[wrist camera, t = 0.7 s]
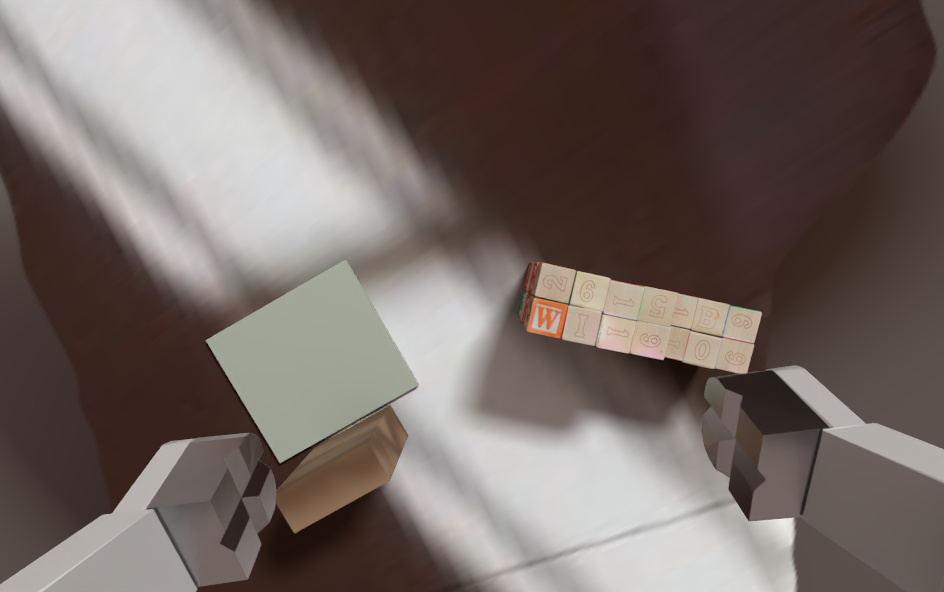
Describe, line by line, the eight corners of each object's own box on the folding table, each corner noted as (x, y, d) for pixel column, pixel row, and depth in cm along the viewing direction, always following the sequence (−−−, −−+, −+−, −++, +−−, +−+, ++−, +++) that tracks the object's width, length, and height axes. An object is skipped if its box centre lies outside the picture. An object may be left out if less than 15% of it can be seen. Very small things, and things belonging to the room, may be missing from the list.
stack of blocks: (717, 304, 56) (784, 315, 44) (703, 358, 57) (765, 385, 44) (528, 261, 56) (541, 261, 44) (515, 316, 57) (525, 331, 44)
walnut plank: (408, 435, 58) (389, 480, 46) (332, 477, 58) (294, 533, 46) (390, 405, 58) (367, 442, 46) (314, 447, 58) (271, 496, 46)
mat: (418, 384, 57) (418, 385, 57) (281, 461, 58) (279, 463, 57) (346, 259, 56) (344, 259, 56) (208, 339, 57) (205, 340, 57)
